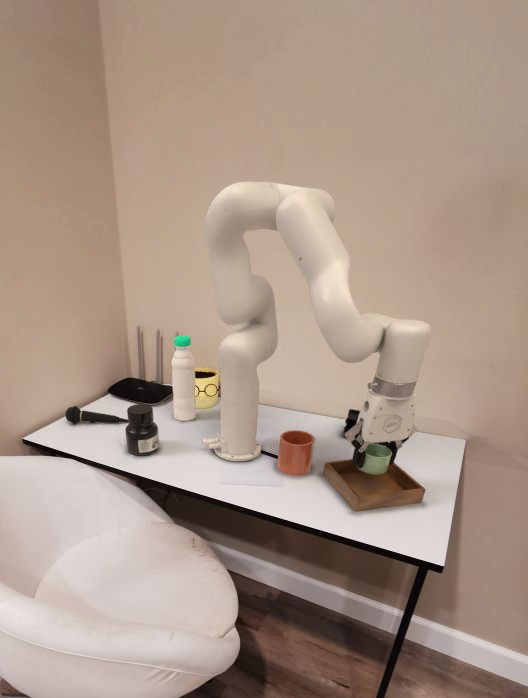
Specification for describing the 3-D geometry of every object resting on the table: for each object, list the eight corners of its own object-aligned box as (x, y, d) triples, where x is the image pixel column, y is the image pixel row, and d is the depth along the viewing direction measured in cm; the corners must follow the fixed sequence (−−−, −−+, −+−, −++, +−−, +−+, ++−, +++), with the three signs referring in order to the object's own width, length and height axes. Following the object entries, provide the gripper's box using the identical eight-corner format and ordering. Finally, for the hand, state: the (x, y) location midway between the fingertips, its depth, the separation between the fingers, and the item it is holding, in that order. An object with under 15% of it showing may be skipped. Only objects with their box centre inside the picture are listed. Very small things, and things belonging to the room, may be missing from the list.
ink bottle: (146, 460, 115) (142, 418, 108) (120, 452, 119) (115, 412, 112) (166, 444, 122) (163, 405, 115) (140, 438, 126) (137, 399, 119)
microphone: (129, 428, 138) (67, 422, 139) (130, 410, 137) (68, 404, 137) (126, 431, 133) (62, 424, 134) (128, 412, 132) (63, 405, 132)
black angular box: (384, 434, 120) (390, 412, 117) (379, 445, 115) (384, 422, 112) (347, 427, 125) (351, 405, 121) (340, 437, 120) (345, 414, 117)
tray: (354, 512, 91) (358, 498, 89) (322, 475, 104) (325, 462, 102) (421, 503, 93) (426, 489, 91) (381, 468, 106) (385, 454, 104)
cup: (284, 478, 104) (287, 447, 99) (272, 462, 111) (275, 432, 106) (315, 474, 105) (320, 443, 100) (302, 458, 111) (306, 428, 107)
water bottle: (172, 413, 140) (169, 334, 126) (194, 411, 140) (193, 332, 126) (174, 422, 134) (171, 340, 120) (197, 420, 134) (196, 339, 120)
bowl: (365, 477, 93) (369, 459, 90) (350, 462, 98) (354, 444, 96) (392, 474, 94) (398, 456, 91) (376, 459, 99) (381, 442, 96)
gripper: (362, 397, 81) (343, 476, 91) (446, 389, 83) (419, 468, 93) (343, 383, 88) (327, 458, 97) (421, 376, 89) (398, 451, 99)
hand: (372, 462), depth 95 cm, fingers closed on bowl, 6 cm apart
